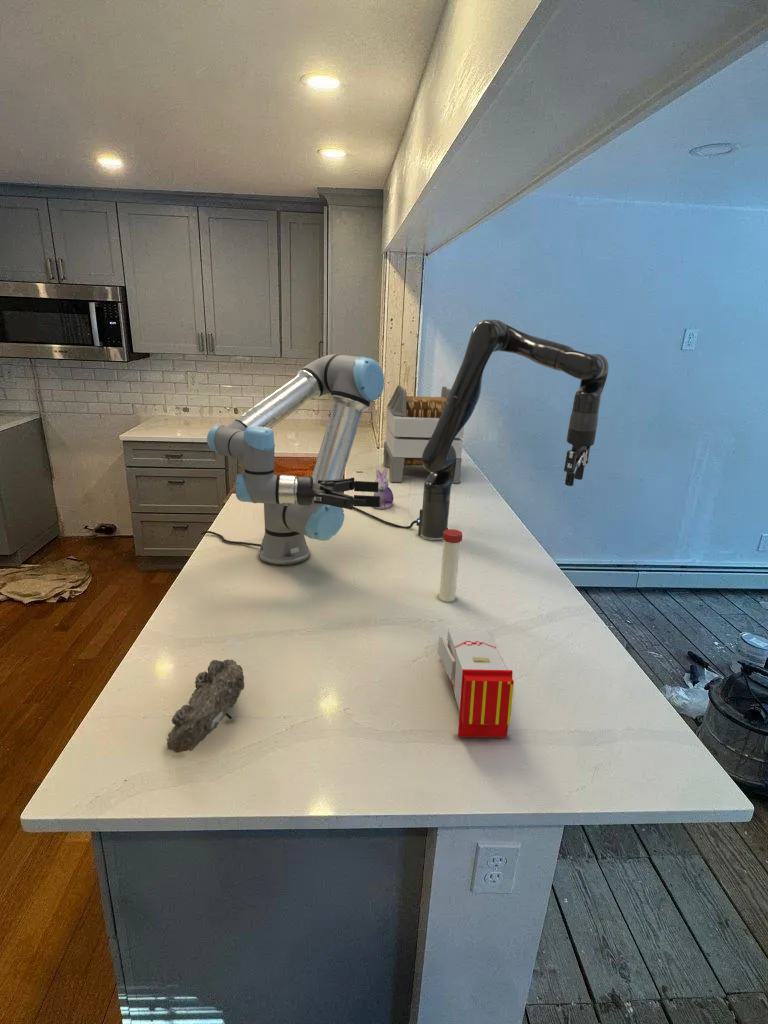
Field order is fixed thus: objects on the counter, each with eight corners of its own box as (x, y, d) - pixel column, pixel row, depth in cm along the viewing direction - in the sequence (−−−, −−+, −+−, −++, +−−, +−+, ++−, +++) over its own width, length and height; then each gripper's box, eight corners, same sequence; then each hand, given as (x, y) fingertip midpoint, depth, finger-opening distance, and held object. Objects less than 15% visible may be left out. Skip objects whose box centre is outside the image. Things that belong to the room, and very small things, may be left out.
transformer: (382, 463, 289) (386, 382, 275) (445, 464, 293) (451, 384, 279) (390, 482, 257) (394, 392, 243) (460, 483, 261) (468, 394, 247)
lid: (440, 540, 150) (440, 533, 149) (446, 534, 154) (446, 527, 153) (458, 544, 148) (459, 537, 147) (464, 537, 152) (464, 531, 152)
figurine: (377, 511, 221) (379, 474, 216) (366, 503, 229) (367, 467, 224) (399, 508, 225) (401, 471, 220) (387, 500, 233) (388, 465, 228)
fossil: (192, 660, 117) (244, 628, 112) (224, 691, 120) (276, 661, 115) (142, 746, 98) (202, 712, 93) (182, 779, 101) (242, 748, 96)
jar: (436, 599, 156) (442, 535, 149) (441, 592, 160) (447, 529, 153) (452, 603, 154) (458, 538, 148) (457, 596, 158) (463, 532, 152)
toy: (488, 613, 130) (523, 677, 101) (484, 667, 133) (517, 744, 104) (435, 612, 130) (455, 676, 101) (432, 666, 133) (451, 743, 103)
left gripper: (301, 490, 160) (376, 494, 161) (291, 519, 136) (379, 523, 138) (302, 465, 158) (378, 468, 159) (291, 489, 134) (381, 493, 135)
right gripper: (577, 422, 167) (568, 474, 173) (561, 428, 156) (552, 484, 162) (603, 425, 163) (593, 479, 169) (588, 433, 152) (578, 490, 158)
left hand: (379, 494), depth 148 cm, fingers open, 13 cm apart
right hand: (573, 482), depth 165 cm, fingers open, 8 cm apart
